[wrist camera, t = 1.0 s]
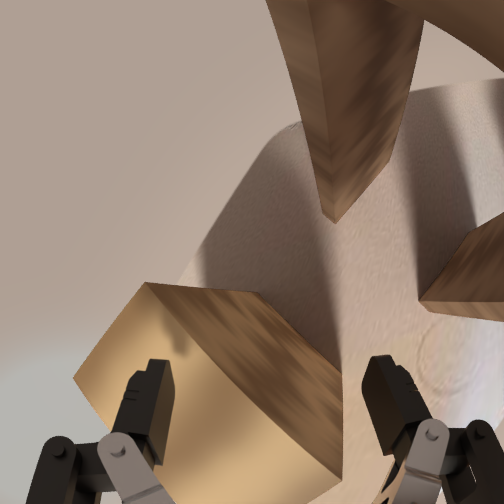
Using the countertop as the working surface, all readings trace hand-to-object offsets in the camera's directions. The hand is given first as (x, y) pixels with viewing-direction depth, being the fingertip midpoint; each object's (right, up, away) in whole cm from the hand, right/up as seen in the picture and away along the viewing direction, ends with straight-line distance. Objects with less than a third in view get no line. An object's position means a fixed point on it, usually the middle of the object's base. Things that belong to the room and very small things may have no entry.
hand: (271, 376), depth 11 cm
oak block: (+2, -7, +21) cm, 22 cm away
